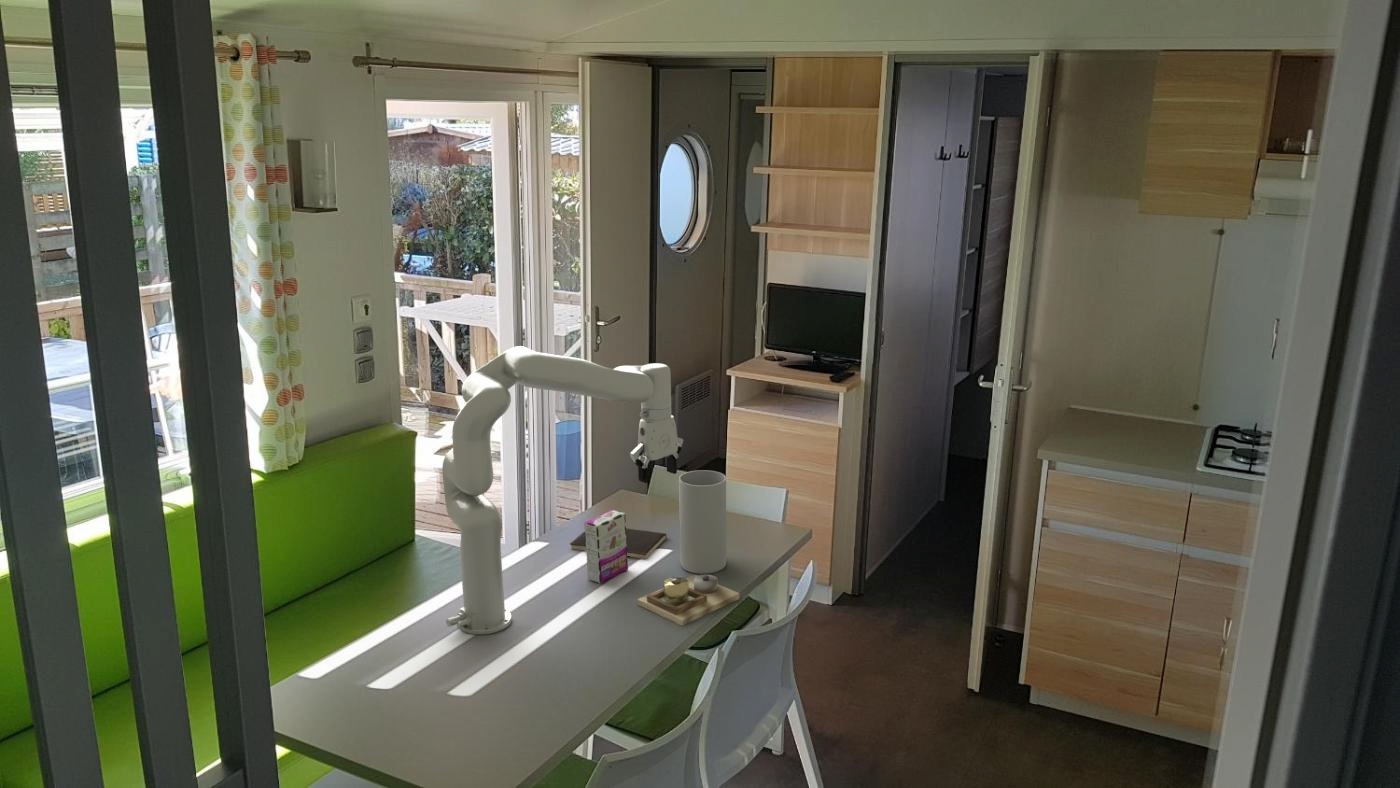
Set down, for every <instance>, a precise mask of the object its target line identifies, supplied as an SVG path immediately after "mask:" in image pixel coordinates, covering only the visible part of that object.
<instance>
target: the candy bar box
mask: <svg viewBox="0 0 1400 788" xmlns="http://www.w3.org/2000/svg"><path fill="white" fill-rule="evenodd" d="M626 528H627V524H626V513H625V512H622V511H620V510H616V509H611V510H609V511H607V512H604V513H602V514H600V515H598V516H596V517H593V518H591V519H589V520H587V521H585V522H584V532H585V537H586V551H585V552H586V566H587V569H586V570H587V580H588V579H590V580H589V581H591V580H592V581H591V582H594V581H595V583H597V582H598V583H597V584H603V583H605V582H607V581H609V580H611V579H613V578H614V576H615V577H617V576H618V575H620V574H623V573H624V572H625V571H628V570H629V564H628V557H627V541H626ZM616 575H617V576H616ZM612 577H613V578H612ZM610 578H611V579H610ZM608 579H609V580H608Z"/></svg>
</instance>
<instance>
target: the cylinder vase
mask: <svg viewBox="0 0 1400 788" xmlns="http://www.w3.org/2000/svg"><path fill="white" fill-rule="evenodd" d="M678 497H679V498H678V505H679V508H678V509H679V512H678V513H679V514H678V515H679V555H680V556H679V560H680V562H679V563H680V567H682V569H684V570H685V571H687V572H688V573H691V574H696V575H697V574H699V575H710V574H715V573H717V572H720V571H721V570H723V569H724V568H725V567H726V565H727V560H728V559H727V476H726V475H725V474H724V473H722V472H719V471H715V470H705V469H704V470H703V469H702V470H701V469H700V470H691V471H687V472H684V473H681V475H680V476H679V477H678Z"/></svg>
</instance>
